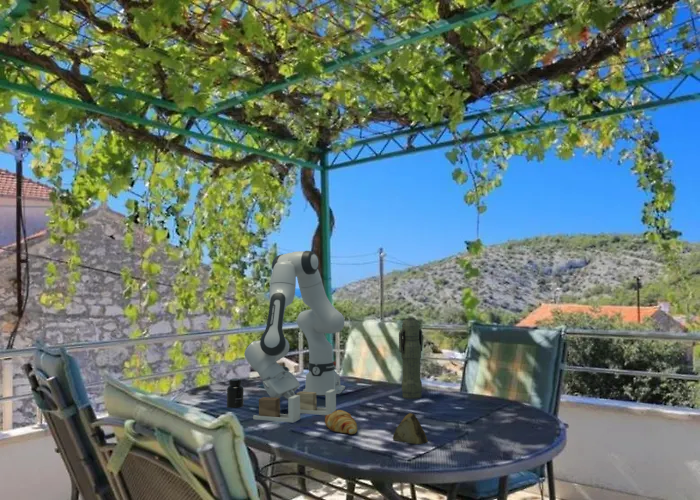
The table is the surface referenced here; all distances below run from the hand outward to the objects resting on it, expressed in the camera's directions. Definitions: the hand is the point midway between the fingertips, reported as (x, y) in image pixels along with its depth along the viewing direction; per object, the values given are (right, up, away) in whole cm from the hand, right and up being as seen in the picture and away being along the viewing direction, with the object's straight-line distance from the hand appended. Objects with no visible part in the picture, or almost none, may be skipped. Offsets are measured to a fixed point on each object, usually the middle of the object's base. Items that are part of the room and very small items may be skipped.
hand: (295, 401), depth 232 cm
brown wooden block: (-9, -3, -12) cm, 15 cm away
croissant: (+18, -4, -25) cm, 31 cm away
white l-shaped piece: (+7, -5, -3) cm, 9 cm away
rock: (+42, -3, -42) cm, 59 cm away
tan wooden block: (+5, -4, -2) cm, 6 cm away
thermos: (+50, -6, +28) cm, 57 cm away
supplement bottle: (-26, -6, +11) cm, 29 cm away
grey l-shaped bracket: (-6, -4, -13) cm, 15 cm away
